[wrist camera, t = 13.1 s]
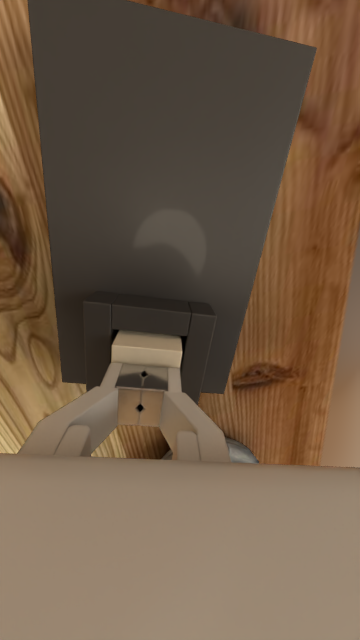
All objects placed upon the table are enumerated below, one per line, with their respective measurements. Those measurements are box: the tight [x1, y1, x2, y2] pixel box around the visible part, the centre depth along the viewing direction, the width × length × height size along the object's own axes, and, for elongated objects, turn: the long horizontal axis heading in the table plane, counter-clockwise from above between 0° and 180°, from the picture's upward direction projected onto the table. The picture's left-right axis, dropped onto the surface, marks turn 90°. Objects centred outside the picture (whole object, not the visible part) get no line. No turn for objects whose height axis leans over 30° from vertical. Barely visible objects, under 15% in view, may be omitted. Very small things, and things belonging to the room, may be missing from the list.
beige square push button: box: [111, 330, 182, 369], centre depth 10 cm, size 3×3×2 cm
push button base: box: [28, 0, 317, 406], centre depth 10 cm, size 16×10×4 cm, turn 172°
